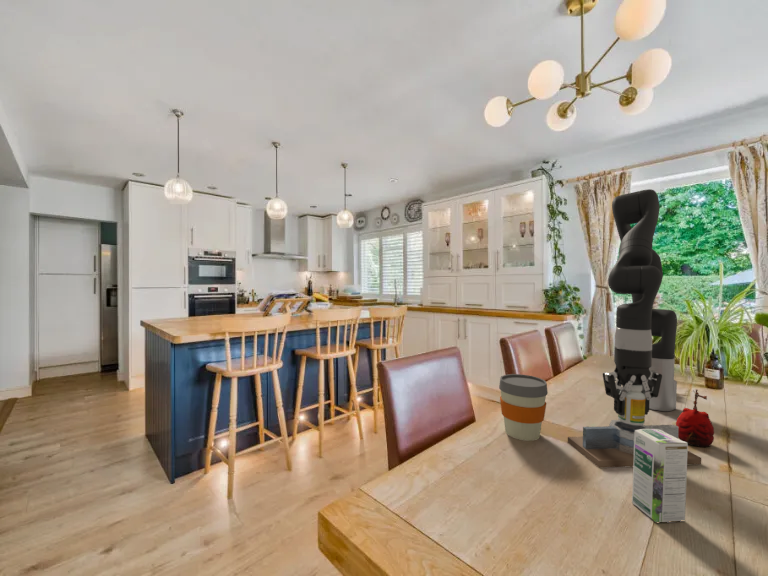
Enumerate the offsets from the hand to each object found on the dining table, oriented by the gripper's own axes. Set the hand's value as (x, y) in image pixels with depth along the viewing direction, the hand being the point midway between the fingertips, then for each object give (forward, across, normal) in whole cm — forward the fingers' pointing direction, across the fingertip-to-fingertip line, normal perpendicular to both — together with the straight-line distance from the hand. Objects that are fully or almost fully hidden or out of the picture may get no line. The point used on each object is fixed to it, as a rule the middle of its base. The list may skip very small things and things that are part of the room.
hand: (631, 413), depth 85 cm
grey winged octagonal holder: (+8, 0, 0) cm, 8 cm away
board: (+10, 0, 0) cm, 10 cm away
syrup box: (+10, +12, +21) cm, 26 cm away
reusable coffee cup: (+10, +22, -12) cm, 27 cm away
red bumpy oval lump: (+10, -21, -4) cm, 24 cm away
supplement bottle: (+2, 0, 0) cm, 2 cm away
